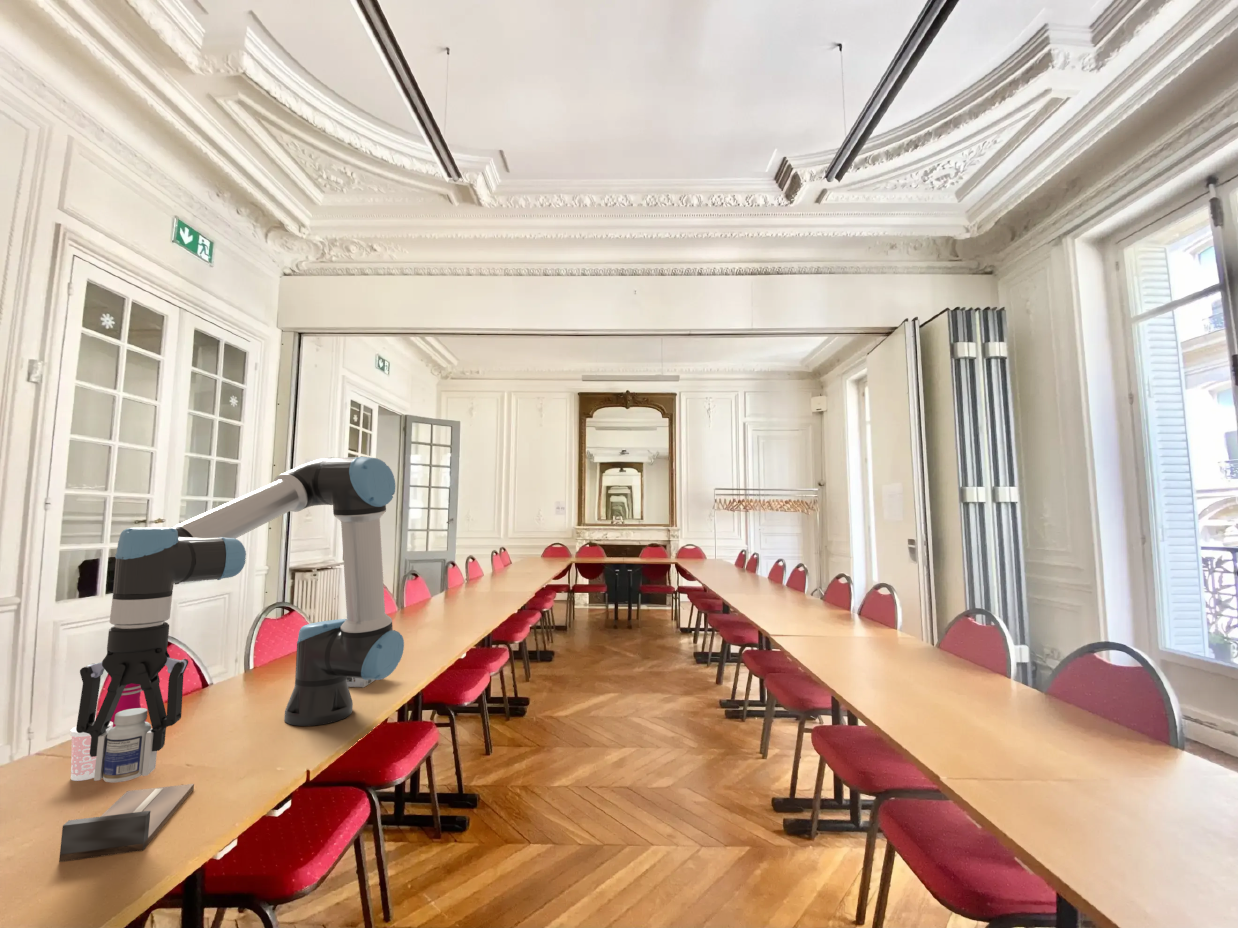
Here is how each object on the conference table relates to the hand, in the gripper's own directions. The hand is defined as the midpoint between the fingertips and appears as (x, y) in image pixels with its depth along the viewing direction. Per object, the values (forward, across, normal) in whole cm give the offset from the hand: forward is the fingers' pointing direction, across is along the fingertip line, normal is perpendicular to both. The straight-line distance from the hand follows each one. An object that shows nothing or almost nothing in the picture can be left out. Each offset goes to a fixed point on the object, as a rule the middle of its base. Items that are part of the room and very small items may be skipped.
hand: (125, 774), depth 90 cm
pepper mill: (+10, +15, -38) cm, 42 cm away
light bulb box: (+9, -27, -79) cm, 84 cm away
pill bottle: (+1, 0, 0) cm, 1 cm away
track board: (+9, 0, -5) cm, 10 cm away
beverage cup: (+10, +16, -27) cm, 32 cm away
